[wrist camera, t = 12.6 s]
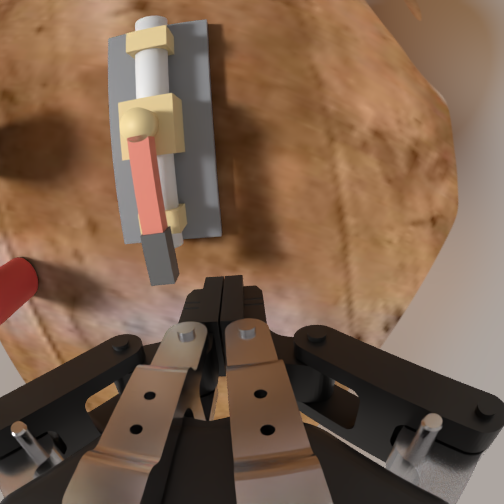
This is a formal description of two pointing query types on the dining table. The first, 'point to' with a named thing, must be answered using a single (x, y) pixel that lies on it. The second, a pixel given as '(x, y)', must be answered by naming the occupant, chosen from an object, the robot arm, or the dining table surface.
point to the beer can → (16, 286)
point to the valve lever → (149, 195)
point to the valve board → (195, 130)
